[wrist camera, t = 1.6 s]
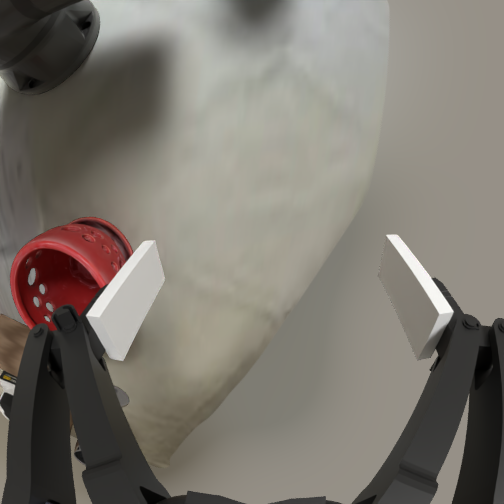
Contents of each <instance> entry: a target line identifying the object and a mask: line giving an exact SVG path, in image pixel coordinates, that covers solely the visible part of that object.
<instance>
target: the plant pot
mask: <svg viewBox="0 0 504 504" xmlns="http://www.w3.org/2000/svg"><path fill="white" fill-rule="evenodd" d="M132 255H133V250H132V248H131V246H130V244H129V242H128V240H127V239H126V238H125V236H124V235H123V234H122V233H121V232H120V231H119V230H118V229H117V228H116V227H115V226H114V225H112V224H111V223H109V222H107V221H105V220H103V219H100V218H96V217H83V218H79V219H76V220H74V221H72V222H71V223H69V224H67V225H63V226H58V227H55V228H52V229H50V230H48V231H46V232H45V233H43V234H40V235H39V236H37V237H35V238H34V239H32V240H31V241H30V242H28V243H27V244H26V245H24V246H23V247H22V248H21V249H20V251H19V252H18V253H17V255H16V257H15V259H14V261H13V264H12V268H11V273H10V285H11V292H12V296H13V300H14V303H15V305H16V307H17V310H18V312H19V314H20V316H21V317H22V319H23V320H24V322H25V323H26V324H27V326H28V327H29V328H30V329H32V328H33V327H34V326H35V325H37V324H40V323H45V324H47V326H48V327H49V329H50V331H54V330H57V328H56V326H55V325H54V323H53V321H52V320H51V316H52V314H53V312H54V311H55V310H56V309H57V308H59V307H61V306H62V305H66V304H71V305H73V306H74V307H75V309H76V311H77V313H78V315H79V316H80V315H81V313H82V312H83V311H84V309H85V308H86V307H87V305H88V304H89V303H90V302H91V300H92V299H93V297H95V295H96V293H97V292H98V291H99V290H100V289H101V288H102V287H103V286H105V285H106V284H109V283H110V282H111V281H112V280H113V278H114V277H115V276H116V274H117V273H118V272H119V271H120V269H121V268H122V267H123V266H124V264H125V263H126V262H127V261H128V259H129V258H130V257H131V256H132ZM27 260H28V262H27ZM26 262H27V264H26ZM32 268H35V271H36V277H35V281H34V283H33V284H32V285H29V283H28V276H29V274H30V271H31V269H32ZM40 284H43V285H44V287H45V293H44V294H41V293H40V291H39V286H40ZM34 297H37V298H38V300H39V307H37V306H35V304H34V302H33V298H34ZM46 303H50V304H51V305H52V306H53V309H54V310H53V312H50V311H49V310H48V309H47V307H46ZM44 316H48V317H49V319H50V322H48V321H46V320H45V318H44Z"/></svg>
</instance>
